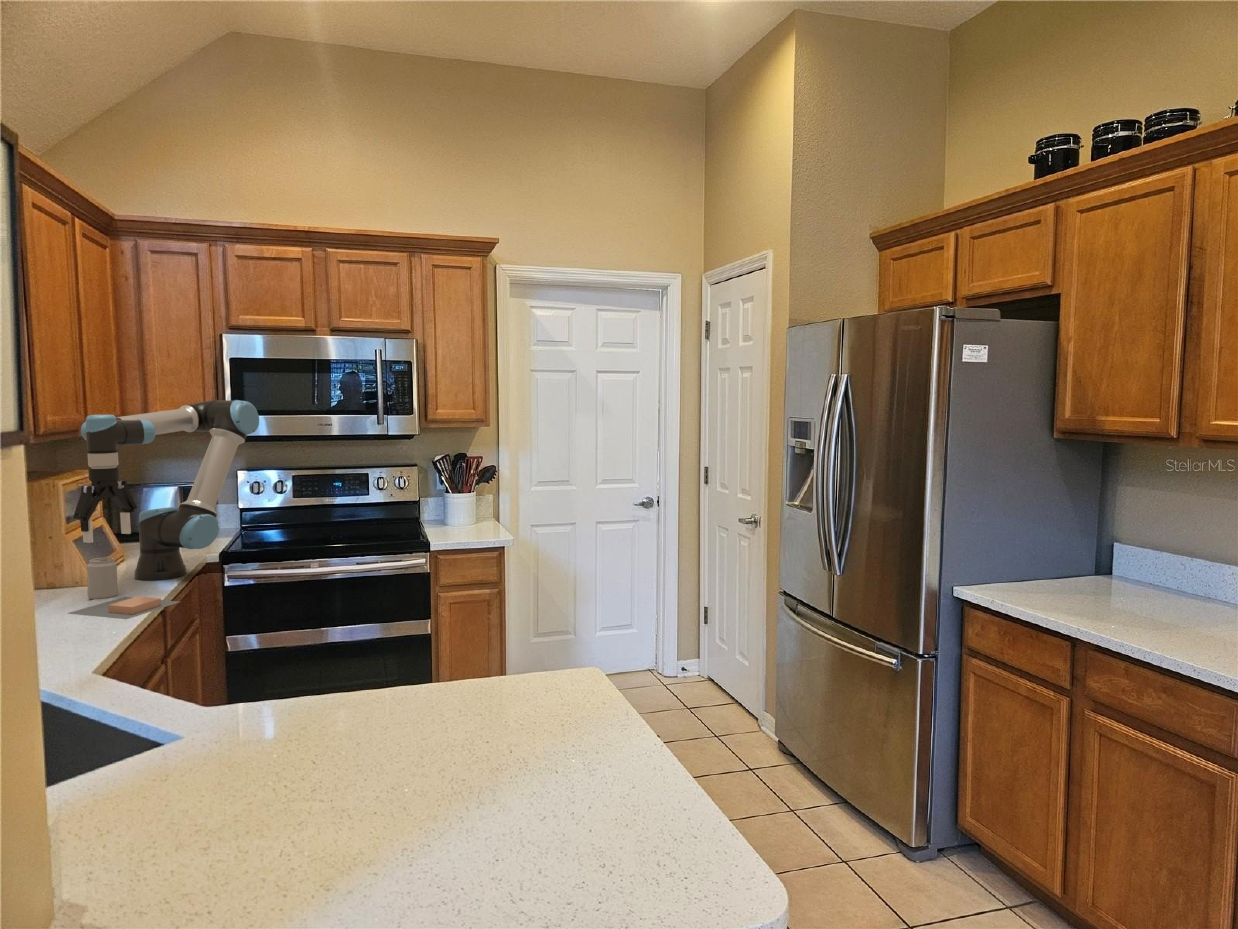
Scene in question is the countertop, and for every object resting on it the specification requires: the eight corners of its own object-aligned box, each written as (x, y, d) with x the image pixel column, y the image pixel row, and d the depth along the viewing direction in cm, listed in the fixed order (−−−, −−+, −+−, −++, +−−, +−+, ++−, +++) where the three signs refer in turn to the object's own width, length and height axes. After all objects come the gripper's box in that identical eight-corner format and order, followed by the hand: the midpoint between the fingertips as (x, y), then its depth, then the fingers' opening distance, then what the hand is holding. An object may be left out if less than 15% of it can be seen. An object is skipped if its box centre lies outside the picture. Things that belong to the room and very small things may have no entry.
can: (123, 595, 237) (122, 556, 236) (105, 601, 230) (103, 561, 229) (101, 594, 238) (99, 555, 237) (81, 600, 231) (80, 560, 230)
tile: (138, 596, 226) (108, 605, 216) (160, 598, 224) (131, 607, 214) (138, 603, 226) (108, 612, 216) (161, 605, 224) (132, 614, 215)
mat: (125, 598, 233) (125, 596, 233) (181, 603, 229) (180, 601, 229) (67, 615, 215) (66, 613, 215) (126, 621, 210) (126, 619, 210)
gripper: (126, 462, 242) (130, 529, 244) (55, 471, 217) (59, 545, 220) (147, 463, 240) (151, 530, 243) (77, 472, 216) (82, 546, 218)
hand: (107, 538), depth 231 cm, fingers open, 13 cm apart
